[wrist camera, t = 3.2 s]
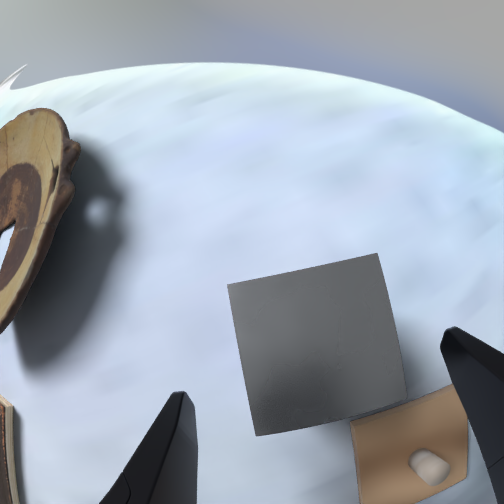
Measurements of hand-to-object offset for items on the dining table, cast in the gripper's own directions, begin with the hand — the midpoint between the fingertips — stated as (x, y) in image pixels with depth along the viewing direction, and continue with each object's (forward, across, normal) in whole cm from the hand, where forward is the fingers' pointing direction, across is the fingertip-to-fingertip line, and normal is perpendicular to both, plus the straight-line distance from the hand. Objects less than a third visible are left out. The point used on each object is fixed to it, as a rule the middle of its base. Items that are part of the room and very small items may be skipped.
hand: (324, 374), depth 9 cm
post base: (0, -6, +12) cm, 14 cm away
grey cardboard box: (+7, 0, +6) cm, 9 cm away
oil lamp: (+17, +27, -4) cm, 32 cm away
